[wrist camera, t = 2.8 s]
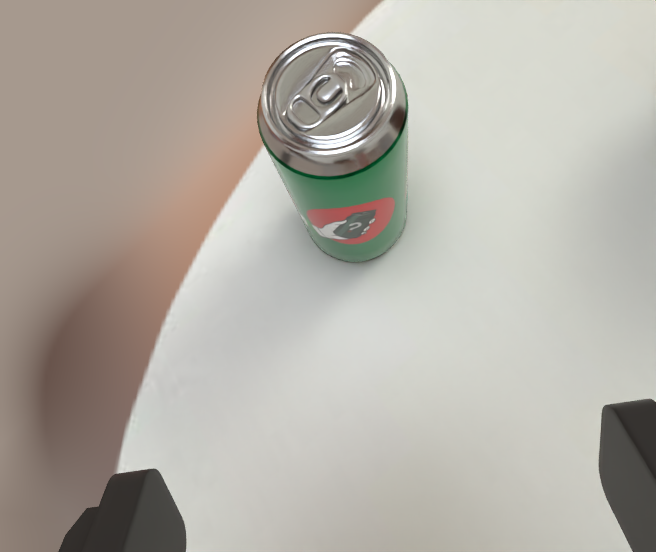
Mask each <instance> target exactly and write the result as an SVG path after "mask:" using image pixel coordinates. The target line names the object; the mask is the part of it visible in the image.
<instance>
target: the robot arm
mask: <svg viewBox="0 0 656 552" xmlns="http://www.w3.org/2000/svg"><path fill="white" fill-rule="evenodd" d="M599 473H600V478H601V483H602V486H603V490H604V493H605V495H606V498H607V500H608V502H609V505H610V507H611V509H612V511H613V513H614V515H615V517H616V519H617V521H618V523H619V525H620V527H621V529H622V531H623V533H624V535H625V537H626V539H627V541H628V543H629V545H630V547H631V549H632V551H633V552H656V402H655V401H654V400H652V399H644V400H637V401H630V402H623V403H616V404H609V405H605V406H604V407H603V410H602V419H601V435H600V451H599ZM59 552H186V530H185V525H184V521H183V519H182V516H181V514H180V512H179V510H178V508H177V506H176V504H175V502H174V500H173V498H172V496H171V494H170V492H169V490H168V488H167V486H166V484H165V482H164V480H163V478H162V476H161V474H160V472H159V471H158V470H157V469H147V470H140V471H133V472H126V473H119V474H115V475H113V476H112V477H111V478H110V480H109V482H108V484H107V486H106V489H105V492H104V494H103V497H102V499H101V502H100V505H99V507H92V508H87V509H86V510H85V511H84V513H83V514H82V515H81V516H80V518H79V519H78V520H77V521H76V523H75V524H74V525H73V526H72V528H71V529H70V530H69V531H68V533H67V534H66V535H65V537H64V540H63V542H62V545H61V547H60V549H59Z"/></svg>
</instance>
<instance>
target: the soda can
mask: <svg viewBox="0 0 656 552" xmlns="http://www.w3.org/2000/svg"><path fill="white" fill-rule="evenodd" d="M257 120H258V121H257V123H258V127H259V133H260V135H261V138H262V141H263V143H264V145H265V147H266V149H267V151H268V153H269V155H270V157H271V159H272V161H273V163H274V165H275V167H276V169H277V171H278V173H279V175H280V177H281V179H282V181H283V183H284V185H285V187H286V189H287V191H288V193H289V195H290V197H291V198H292V200H293V202H294V204H295V206H296V208H297V210H298V212H299V214H300V216H301V218H302V220H303V222H304V224H305V226H306V228H307V230H308V232H309V234H310V236H311V238H312V239H313V241H314V242H315V243H316V245H317V246H318V247H319V248H320V249H321V250H322V251H324V252H325V253H326V254H328V255H330V256H331V257H334V258H336V259H339V260H343V261H350V262H359V261H366V260H370V259H373V258H375V257H378V256H380V255H381V254H383V253H385V252H386V251H387V250H388V249H390V248H391V247H392V246H393V245H394V244H395V242H396V241H397V240H398V238H399V237H400V235H401V233H402V231H403V229H404V226H405V222H406V213H407V153H408V99H407V93H406V89H405V86H404V83H403V81H402V79H401V77H400V75H399V74H398V72H397V71H396V69H395V68H394V67H393V65H392V64H391V63H390V62H389V61H388V60H387V59H386V58H385V56H384V55H383V53H382V52H381V51H380V50H379V49H377V48H376V47H375V46H374V45H372V44H371V43H370V42H368V41H366V40H364V39H362V38H360V37H358V36H354V35H351V34H346V33H339V32H327V33H320V34H316V35H312V36H308V37H306V38H303V39H301V40H299V41H297V42H296V43H294V44H292V45H290V46H289V47H288V48H287V49H285V50H284V51H283V52H282V53H281V54H280V55H279V56H278V57H277V58H276V59H275V61H274V62H273V63H272V65H271V66H270V68H269V70H268V72H267V74H266V76H265V79H264V82H263V85H262V92H261V96H260V99H259V103H258V110H257Z"/></svg>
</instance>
